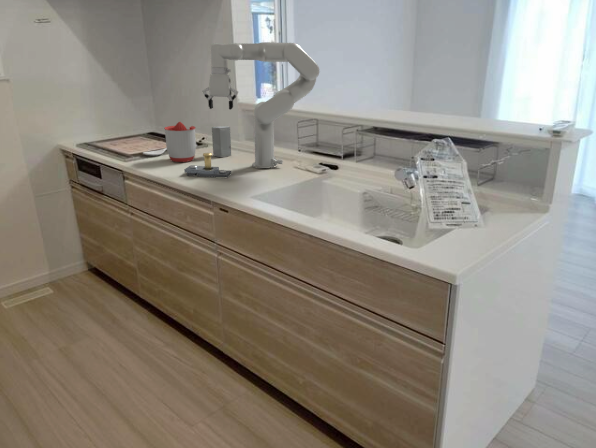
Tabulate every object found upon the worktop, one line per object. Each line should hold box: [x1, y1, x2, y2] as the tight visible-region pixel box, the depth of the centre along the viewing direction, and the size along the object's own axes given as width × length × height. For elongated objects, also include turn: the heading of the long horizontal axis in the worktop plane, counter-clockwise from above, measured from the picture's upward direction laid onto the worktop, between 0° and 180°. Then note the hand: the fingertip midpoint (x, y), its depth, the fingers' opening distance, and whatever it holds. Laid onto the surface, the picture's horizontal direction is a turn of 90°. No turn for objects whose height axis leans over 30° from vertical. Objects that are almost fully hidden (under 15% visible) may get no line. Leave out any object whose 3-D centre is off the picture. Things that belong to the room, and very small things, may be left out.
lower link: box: [196, 169, 232, 178], centre depth 228 cm, size 14×8×2 cm, turn 81°
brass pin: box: [202, 152, 213, 170], centre depth 227 cm, size 4×4×10 cm
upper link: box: [183, 164, 220, 177], centre depth 228 cm, size 14×8×4 cm, turn 81°
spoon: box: [142, 144, 198, 157], centre depth 273 cm, size 9×32×4 cm, turn 138°
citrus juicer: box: [164, 121, 197, 163], centre depth 253 cm, size 16×17×20 cm
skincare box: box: [211, 125, 232, 158], centre depth 265 cm, size 8×7×16 cm
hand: (220, 108), depth 234 cm, fingers open, 9 cm apart
